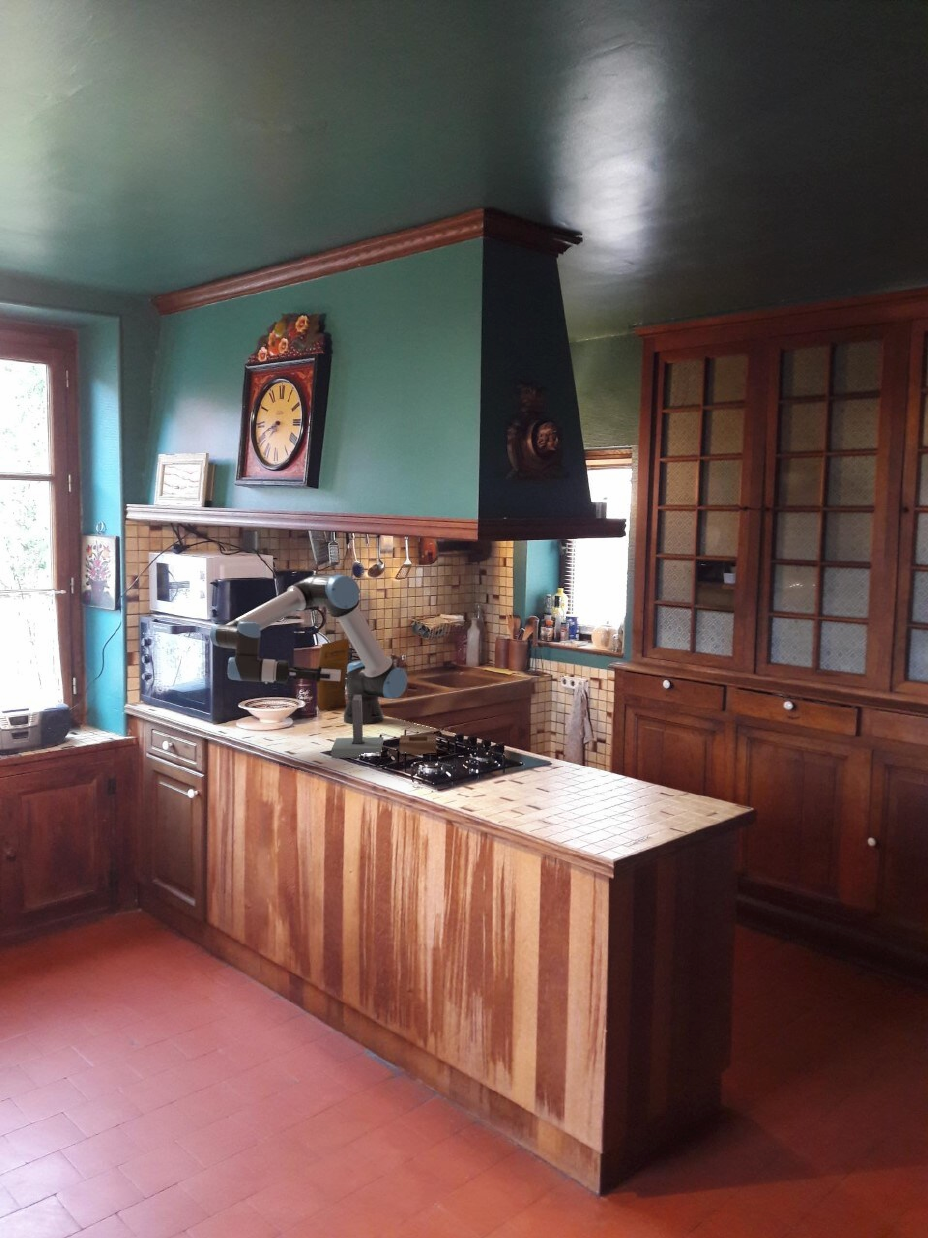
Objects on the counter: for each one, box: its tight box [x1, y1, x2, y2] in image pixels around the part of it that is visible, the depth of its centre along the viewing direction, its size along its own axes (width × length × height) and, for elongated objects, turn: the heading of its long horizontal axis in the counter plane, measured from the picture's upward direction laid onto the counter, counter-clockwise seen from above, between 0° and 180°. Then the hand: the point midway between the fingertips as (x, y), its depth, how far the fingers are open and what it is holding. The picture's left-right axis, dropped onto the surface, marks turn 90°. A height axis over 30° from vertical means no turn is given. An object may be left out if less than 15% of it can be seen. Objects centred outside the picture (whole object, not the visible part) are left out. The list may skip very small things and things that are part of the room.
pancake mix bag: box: [317, 638, 350, 711], centre depth 408 cm, size 7×19×28 cm, turn 142°
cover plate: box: [331, 736, 385, 759], centre depth 332 cm, size 16×16×3 cm
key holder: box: [399, 734, 437, 754], centre depth 332 cm, size 12×12×4 cm
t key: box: [352, 695, 364, 744], centre depth 331 cm, size 10×3×18 cm, turn 2°
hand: (340, 675), depth 331 cm, fingers open, 13 cm apart
